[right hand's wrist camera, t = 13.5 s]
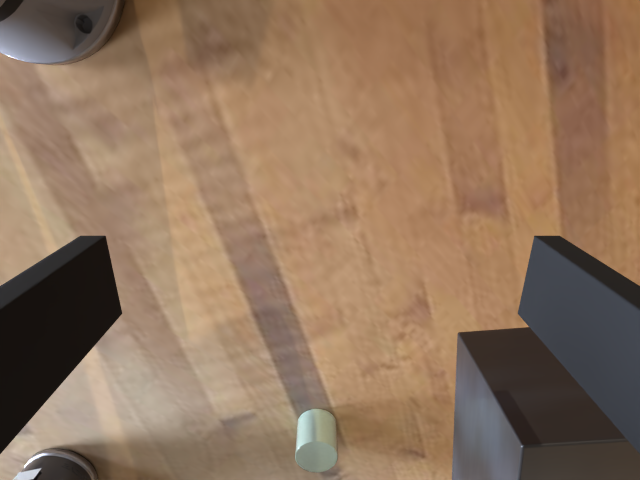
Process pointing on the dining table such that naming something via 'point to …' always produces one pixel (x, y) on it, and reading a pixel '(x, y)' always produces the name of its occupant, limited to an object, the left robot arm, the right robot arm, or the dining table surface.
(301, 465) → the mint green cylinder
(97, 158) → the dining table surface
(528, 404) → the plank
